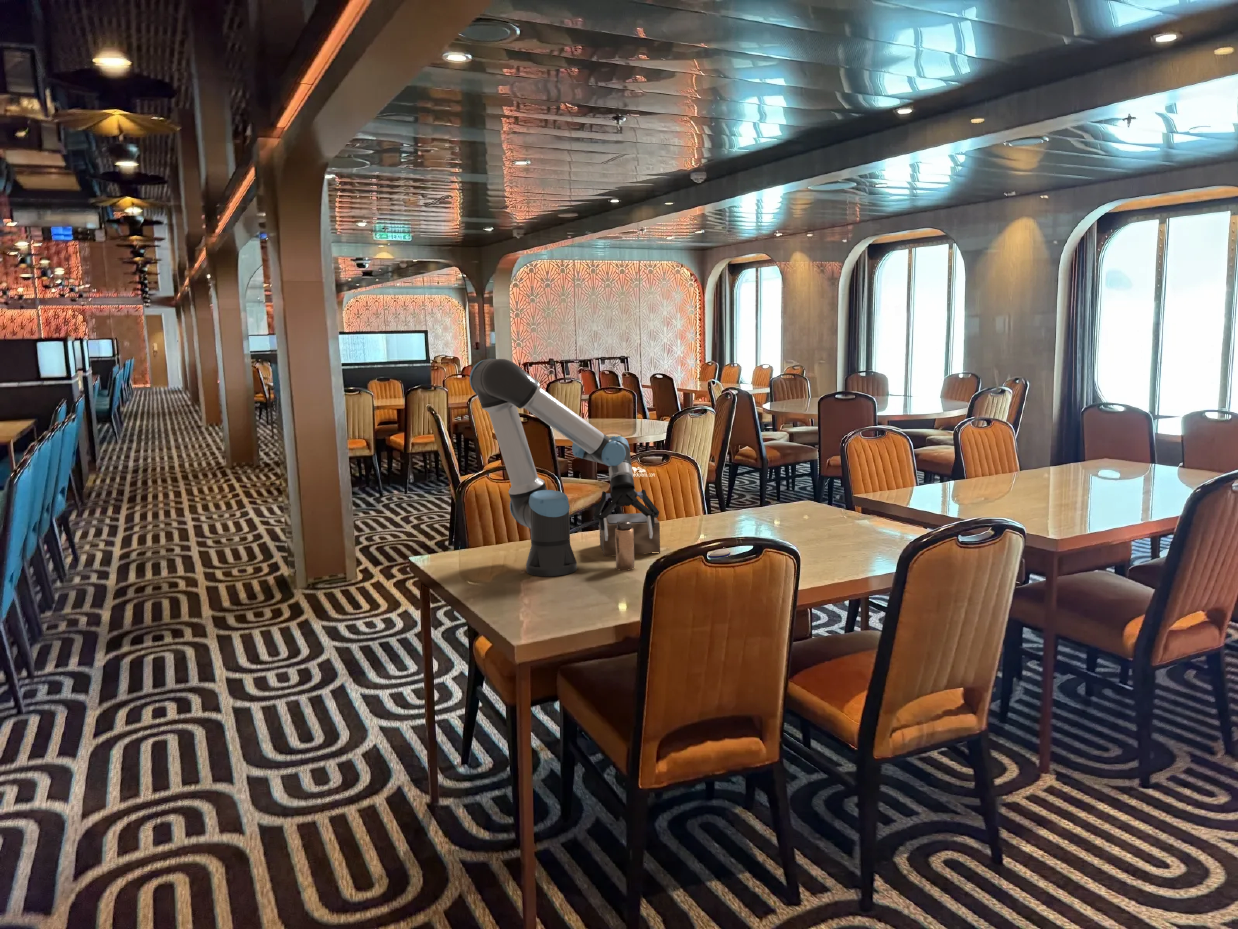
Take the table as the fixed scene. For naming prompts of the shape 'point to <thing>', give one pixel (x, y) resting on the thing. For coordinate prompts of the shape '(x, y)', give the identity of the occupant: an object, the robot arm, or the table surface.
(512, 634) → the table surface
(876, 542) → the table surface
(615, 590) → the table surface
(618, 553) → the copper pepper mill
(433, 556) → the table surface
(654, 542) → the walnut stand
